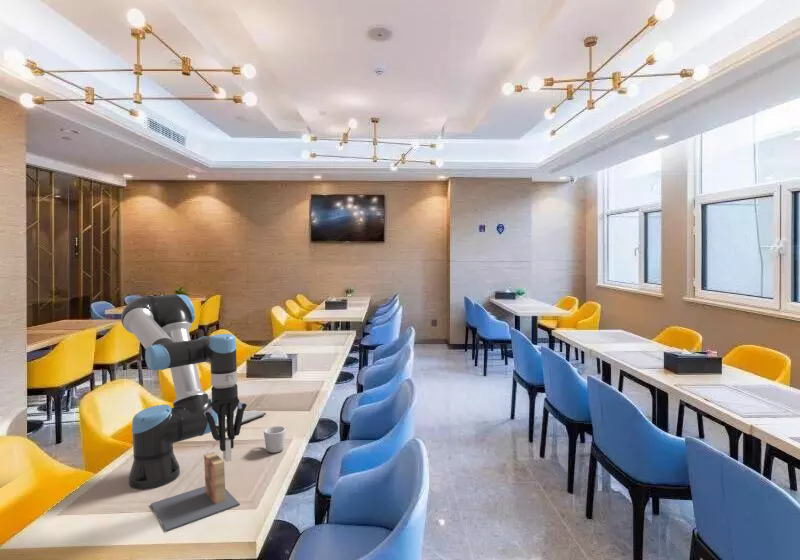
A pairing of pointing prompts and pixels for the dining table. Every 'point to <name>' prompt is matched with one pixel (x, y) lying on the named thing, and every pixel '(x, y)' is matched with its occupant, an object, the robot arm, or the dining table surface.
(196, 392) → the robot arm
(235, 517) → the dining table surface
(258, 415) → the mat
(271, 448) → the cup
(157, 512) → the slate mat
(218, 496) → the tan block
